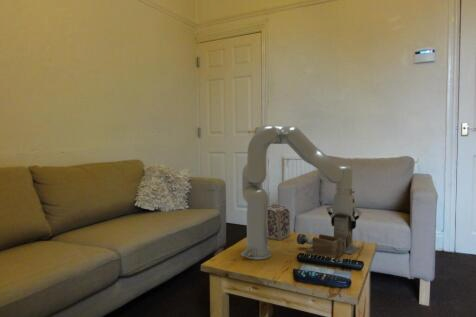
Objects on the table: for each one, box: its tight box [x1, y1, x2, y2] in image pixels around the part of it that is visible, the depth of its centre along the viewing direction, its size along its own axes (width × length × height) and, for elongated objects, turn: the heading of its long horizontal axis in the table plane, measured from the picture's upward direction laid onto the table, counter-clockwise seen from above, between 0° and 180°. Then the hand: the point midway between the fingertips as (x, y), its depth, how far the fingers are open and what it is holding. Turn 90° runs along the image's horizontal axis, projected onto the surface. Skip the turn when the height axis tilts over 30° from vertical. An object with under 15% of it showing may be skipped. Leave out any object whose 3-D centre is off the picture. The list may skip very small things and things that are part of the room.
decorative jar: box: [268, 202, 291, 241], centre depth 189 cm, size 12×12×18 cm
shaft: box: [296, 233, 314, 246], centre depth 165 cm, size 5×14×5 cm, turn 50°
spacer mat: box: [343, 244, 361, 255], centre depth 168 cm, size 12×12×1 cm
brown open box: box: [305, 233, 344, 259], centre depth 161 cm, size 10×14×8 cm
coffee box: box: [333, 214, 353, 251], centre depth 168 cm, size 9×6×16 cm
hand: (343, 227), depth 167 cm, fingers open, 9 cm apart
